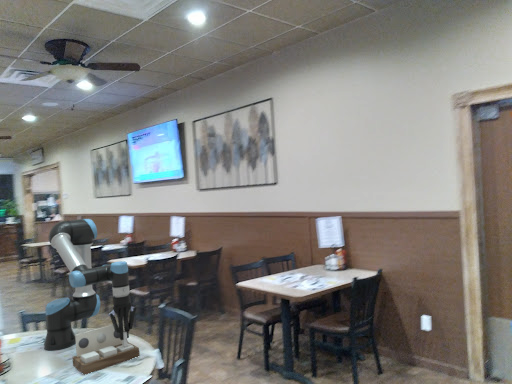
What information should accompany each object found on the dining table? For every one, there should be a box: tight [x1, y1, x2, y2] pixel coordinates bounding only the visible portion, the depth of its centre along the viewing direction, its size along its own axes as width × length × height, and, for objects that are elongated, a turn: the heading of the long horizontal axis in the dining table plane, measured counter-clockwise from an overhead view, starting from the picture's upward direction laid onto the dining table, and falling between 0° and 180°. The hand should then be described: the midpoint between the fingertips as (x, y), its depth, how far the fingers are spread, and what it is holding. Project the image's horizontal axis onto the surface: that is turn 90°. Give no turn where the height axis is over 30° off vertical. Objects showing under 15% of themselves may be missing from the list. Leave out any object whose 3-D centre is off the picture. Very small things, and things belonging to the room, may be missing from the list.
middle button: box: [99, 346, 117, 358], centre depth 185 cm, size 6×6×3 cm
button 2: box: [116, 342, 135, 352], centre depth 190 cm, size 6×6×3 cm
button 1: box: [81, 351, 99, 364], centre depth 180 cm, size 6×6×3 cm
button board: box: [71, 341, 141, 376], centre depth 187 cm, size 15×25×4 cm, turn 131°
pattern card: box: [74, 322, 125, 357], centre depth 191 cm, size 2×22×10 cm, turn 131°
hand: (125, 345), depth 190 cm, fingers closed
